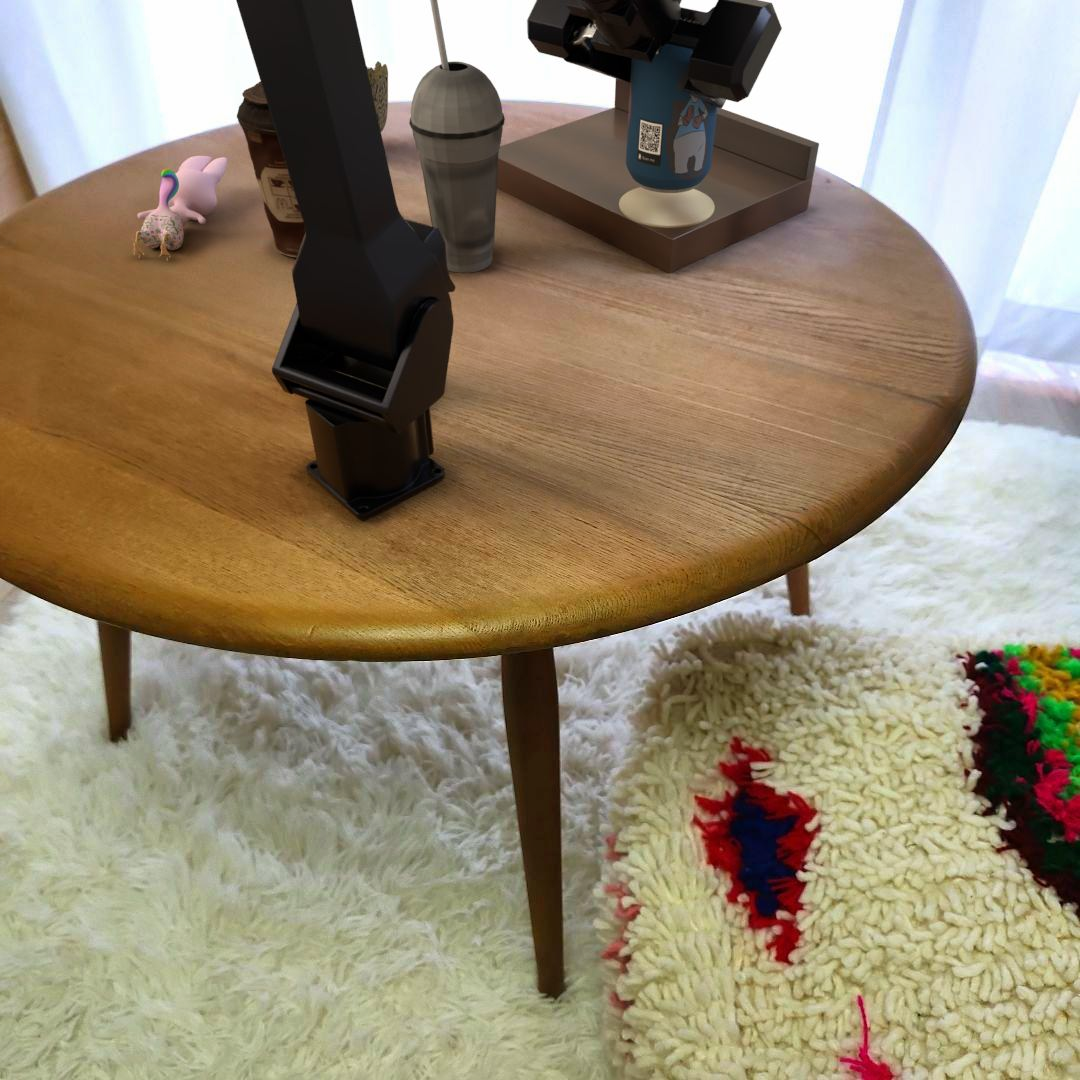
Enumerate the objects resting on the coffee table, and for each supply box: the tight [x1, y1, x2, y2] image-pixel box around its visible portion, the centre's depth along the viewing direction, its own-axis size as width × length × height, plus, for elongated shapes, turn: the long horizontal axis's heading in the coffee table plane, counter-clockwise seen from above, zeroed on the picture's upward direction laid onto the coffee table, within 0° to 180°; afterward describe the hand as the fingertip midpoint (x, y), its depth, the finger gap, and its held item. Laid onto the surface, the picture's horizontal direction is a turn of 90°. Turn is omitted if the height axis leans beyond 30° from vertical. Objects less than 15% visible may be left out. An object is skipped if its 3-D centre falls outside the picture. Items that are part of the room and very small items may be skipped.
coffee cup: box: [236, 80, 305, 258], centre depth 84 cm, size 9×8×13 cm
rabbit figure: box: [131, 155, 228, 262], centre depth 89 cm, size 6×6×15 cm
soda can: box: [626, 43, 718, 193], centre depth 81 cm, size 7×7×12 cm
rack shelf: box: [497, 78, 820, 274], centre depth 93 cm, size 18×24×6 cm
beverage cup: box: [408, 0, 506, 274], centre depth 79 cm, size 7×7×20 cm
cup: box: [366, 60, 389, 133], centre depth 100 cm, size 8×7×8 cm
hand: (684, 92), depth 81 cm, fingers closed on soda can, 7 cm apart
